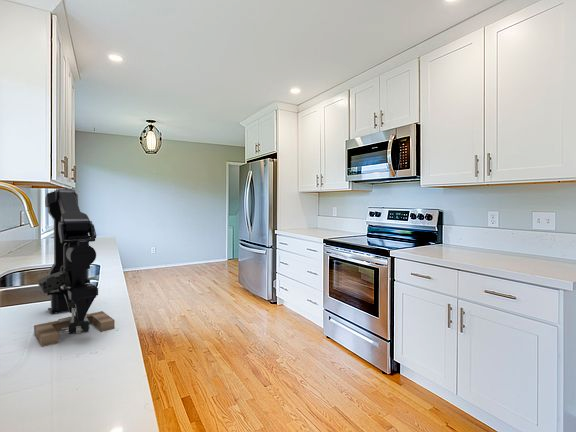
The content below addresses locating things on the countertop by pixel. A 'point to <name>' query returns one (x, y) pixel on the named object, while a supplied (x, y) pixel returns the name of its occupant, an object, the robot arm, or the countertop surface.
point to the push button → (76, 322)
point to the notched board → (49, 331)
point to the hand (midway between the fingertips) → (76, 316)
